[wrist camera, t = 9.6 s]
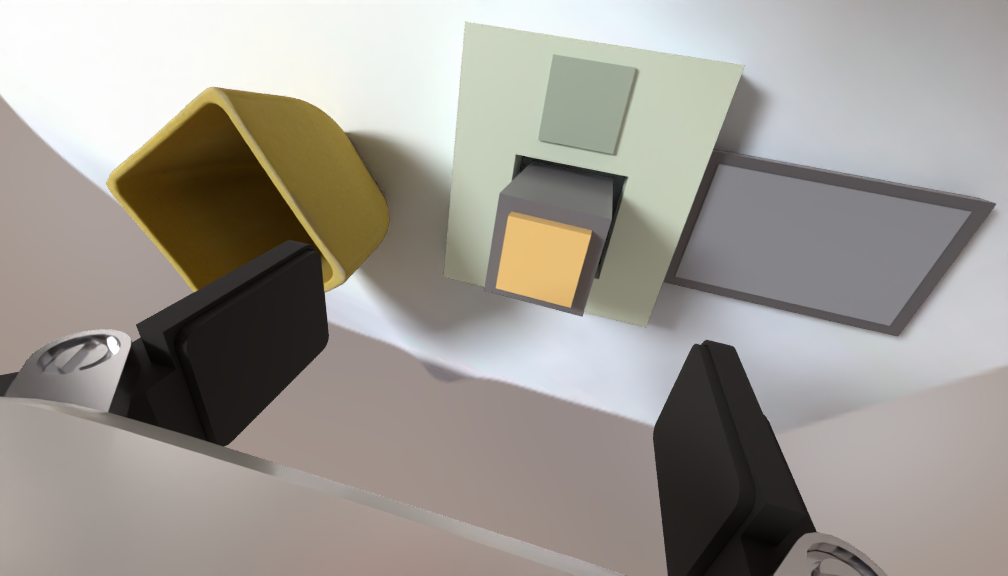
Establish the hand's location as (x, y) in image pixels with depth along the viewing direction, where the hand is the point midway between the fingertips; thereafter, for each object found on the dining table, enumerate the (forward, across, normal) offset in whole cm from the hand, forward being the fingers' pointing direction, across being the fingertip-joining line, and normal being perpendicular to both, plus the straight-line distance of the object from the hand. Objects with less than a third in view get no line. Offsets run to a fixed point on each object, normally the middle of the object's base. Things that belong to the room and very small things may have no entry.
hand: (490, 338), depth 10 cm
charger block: (+15, -1, +1) cm, 15 cm away
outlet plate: (+15, -1, 0) cm, 15 cm away
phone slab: (+14, -13, 0) cm, 19 cm away
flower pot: (+15, +13, +3) cm, 20 cm away
